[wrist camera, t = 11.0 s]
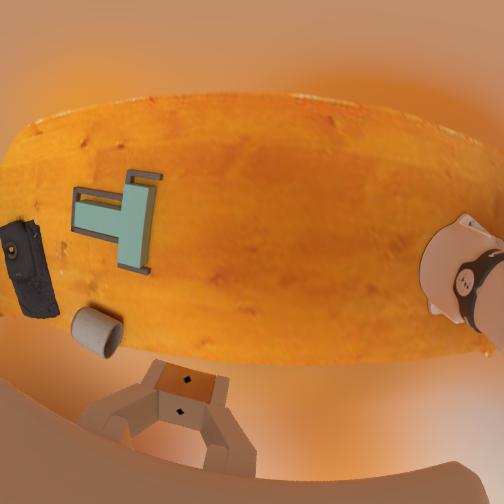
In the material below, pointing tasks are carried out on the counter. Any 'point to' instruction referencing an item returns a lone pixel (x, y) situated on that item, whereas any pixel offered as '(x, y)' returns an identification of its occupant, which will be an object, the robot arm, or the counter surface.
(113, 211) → the teal T block
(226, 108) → the counter surface
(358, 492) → the robot arm
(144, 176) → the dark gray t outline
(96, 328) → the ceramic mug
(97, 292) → the counter surface
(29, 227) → the dark slate chunk
